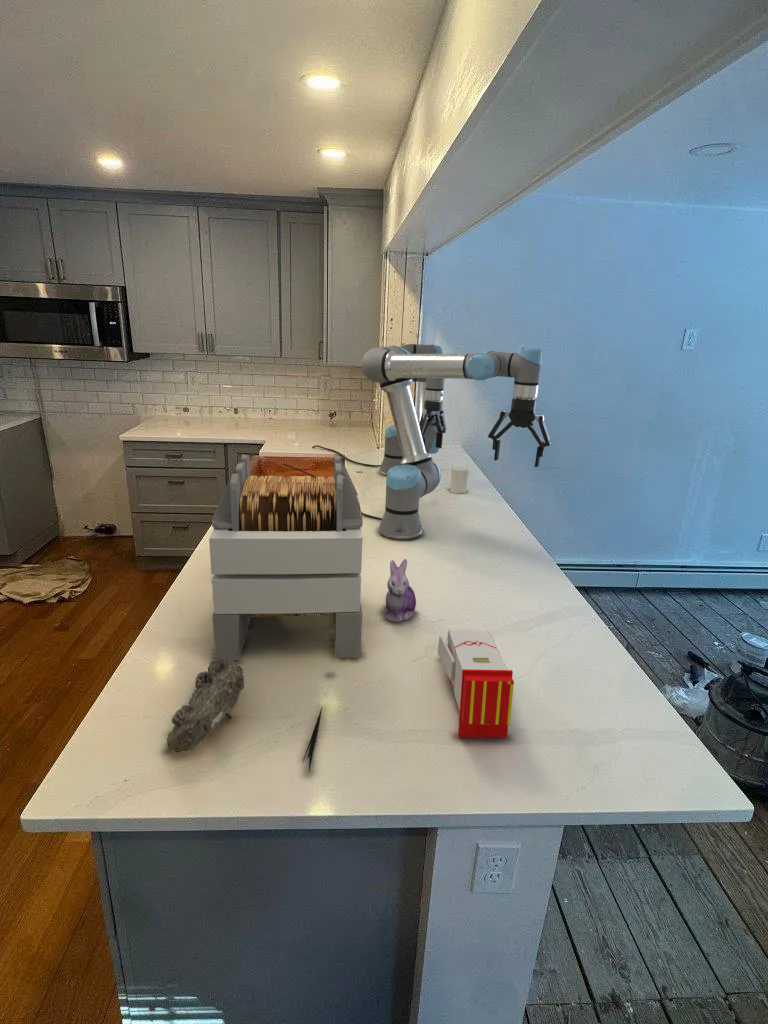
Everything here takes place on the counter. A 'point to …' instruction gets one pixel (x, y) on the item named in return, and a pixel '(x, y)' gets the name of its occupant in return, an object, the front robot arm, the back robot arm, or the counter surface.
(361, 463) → the back robot arm
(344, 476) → the grey record crate stand
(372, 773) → the counter surface
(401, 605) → the figurine
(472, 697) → the toy
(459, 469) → the canister
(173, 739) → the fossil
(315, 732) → the feather
